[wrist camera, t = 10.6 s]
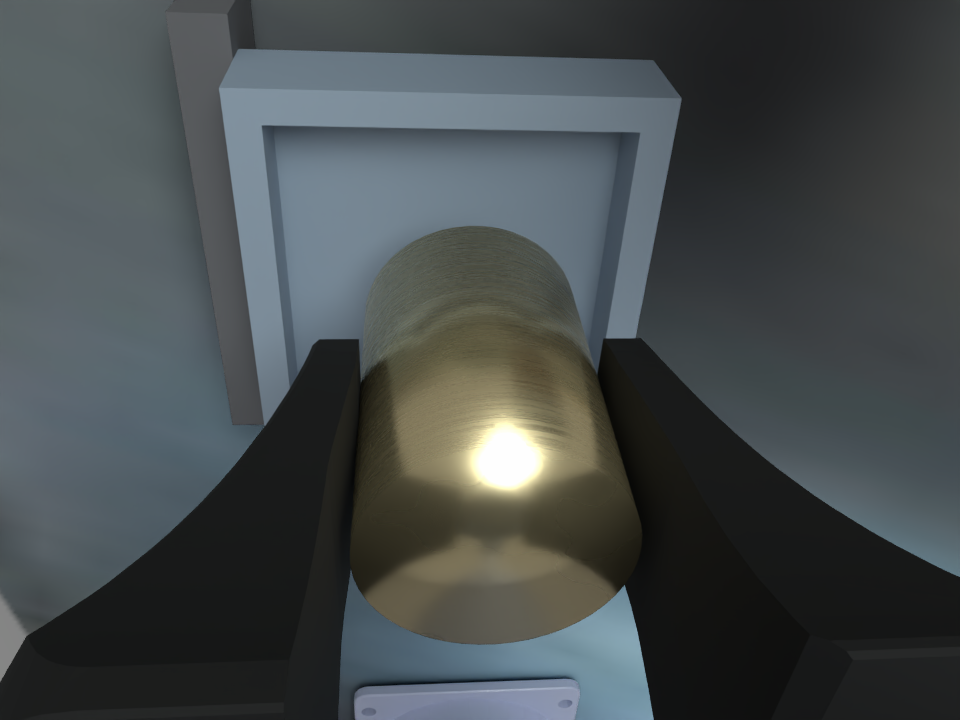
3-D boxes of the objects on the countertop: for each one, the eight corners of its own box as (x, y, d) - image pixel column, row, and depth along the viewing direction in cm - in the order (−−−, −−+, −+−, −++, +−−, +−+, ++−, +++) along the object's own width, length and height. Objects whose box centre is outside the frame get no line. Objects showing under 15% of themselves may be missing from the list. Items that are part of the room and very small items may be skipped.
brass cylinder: (580, 384, 17) (644, 623, 12) (387, 413, 17) (382, 660, 12) (567, 209, 14) (640, 427, 10) (343, 244, 14) (317, 474, 10)
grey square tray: (586, 338, 22) (616, 436, 19) (285, 339, 21) (266, 441, 18) (633, 33, 17) (682, 98, 14) (251, 21, 16) (219, 88, 13)
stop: (288, 361, 21) (277, 424, 20) (247, 361, 21) (232, 424, 19) (248, -21, 16) (227, 13, 14) (193, -24, 16) (165, 12, 14)
